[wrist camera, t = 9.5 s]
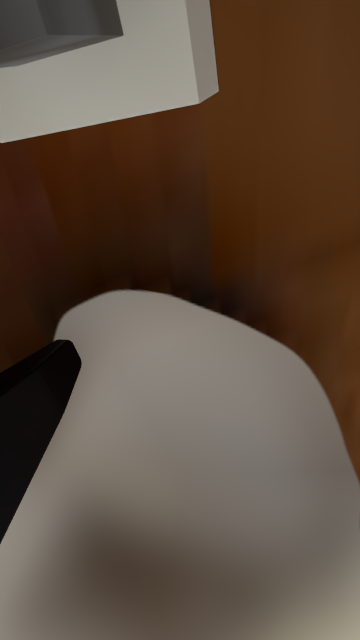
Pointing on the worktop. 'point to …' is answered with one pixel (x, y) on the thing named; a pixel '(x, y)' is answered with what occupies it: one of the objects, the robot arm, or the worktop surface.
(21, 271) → the worktop surface
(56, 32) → the charcoal cube
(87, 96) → the cream base block
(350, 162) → the worktop surface
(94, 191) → the worktop surface
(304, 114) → the worktop surface
